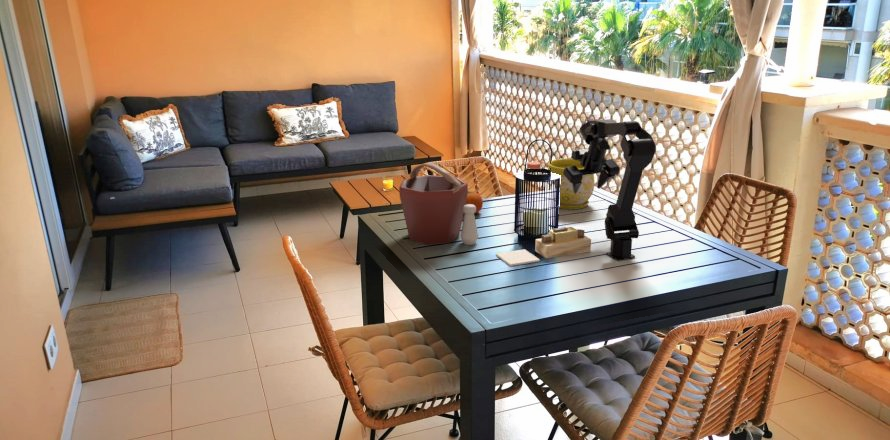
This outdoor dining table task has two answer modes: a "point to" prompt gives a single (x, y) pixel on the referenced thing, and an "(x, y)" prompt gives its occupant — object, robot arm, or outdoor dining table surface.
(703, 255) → the outdoor dining table surface
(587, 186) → the flowerpot
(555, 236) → the tan slotted block
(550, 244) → the plane body
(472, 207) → the salt shaker
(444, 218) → the bucket
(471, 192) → the fruit
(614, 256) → the robot arm
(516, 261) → the mat
